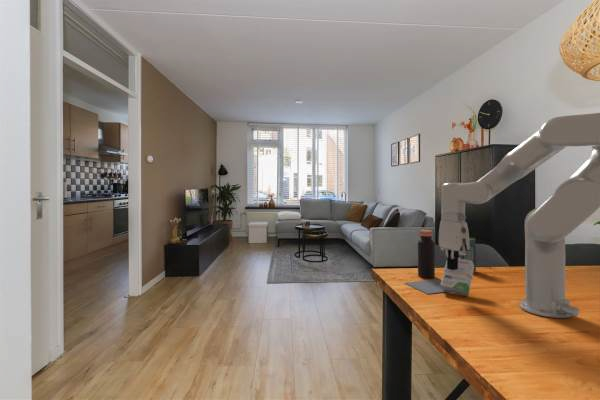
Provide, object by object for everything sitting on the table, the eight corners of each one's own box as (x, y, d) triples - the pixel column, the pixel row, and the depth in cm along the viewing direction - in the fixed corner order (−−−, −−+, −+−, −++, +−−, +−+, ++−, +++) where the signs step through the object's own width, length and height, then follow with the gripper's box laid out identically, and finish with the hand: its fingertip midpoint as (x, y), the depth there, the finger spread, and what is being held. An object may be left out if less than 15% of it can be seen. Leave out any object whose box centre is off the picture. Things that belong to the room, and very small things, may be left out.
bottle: (426, 279, 127) (425, 232, 127) (414, 275, 133) (414, 230, 133) (438, 277, 130) (438, 231, 129) (426, 273, 136) (426, 229, 136)
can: (473, 269, 141) (473, 237, 141) (476, 272, 136) (476, 239, 135) (459, 268, 144) (459, 237, 143) (461, 271, 138) (461, 239, 138)
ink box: (468, 296, 106) (475, 266, 111) (466, 290, 103) (472, 260, 108) (443, 290, 111) (450, 262, 116) (439, 284, 108) (447, 256, 113)
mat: (464, 290, 112) (464, 289, 112) (427, 294, 108) (427, 293, 108) (437, 279, 126) (437, 279, 126) (404, 283, 122) (404, 282, 122)
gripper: (479, 219, 100) (478, 274, 101) (446, 215, 115) (445, 263, 115) (460, 219, 98) (460, 275, 99) (429, 216, 113) (429, 265, 113)
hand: (452, 269), depth 107 cm, fingers closed
